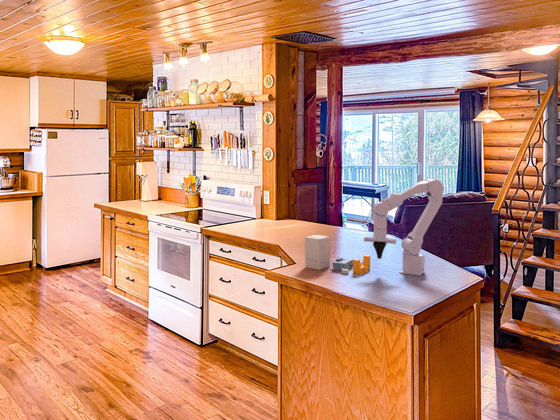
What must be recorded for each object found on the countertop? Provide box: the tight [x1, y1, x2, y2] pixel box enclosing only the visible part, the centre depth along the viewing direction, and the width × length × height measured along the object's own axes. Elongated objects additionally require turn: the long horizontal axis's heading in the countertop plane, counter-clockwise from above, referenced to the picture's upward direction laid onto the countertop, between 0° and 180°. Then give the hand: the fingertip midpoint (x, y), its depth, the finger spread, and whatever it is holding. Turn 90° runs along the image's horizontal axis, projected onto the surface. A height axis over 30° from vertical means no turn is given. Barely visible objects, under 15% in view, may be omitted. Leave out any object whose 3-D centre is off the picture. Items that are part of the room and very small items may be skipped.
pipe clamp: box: [352, 254, 371, 275], centre depth 226 cm, size 12×4×6 cm, turn 142°
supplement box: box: [304, 234, 331, 271], centre depth 234 cm, size 9×9×15 cm
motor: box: [329, 257, 363, 275], centre depth 231 cm, size 10×17×4 cm, turn 149°
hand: (379, 258), depth 222 cm, fingers closed
